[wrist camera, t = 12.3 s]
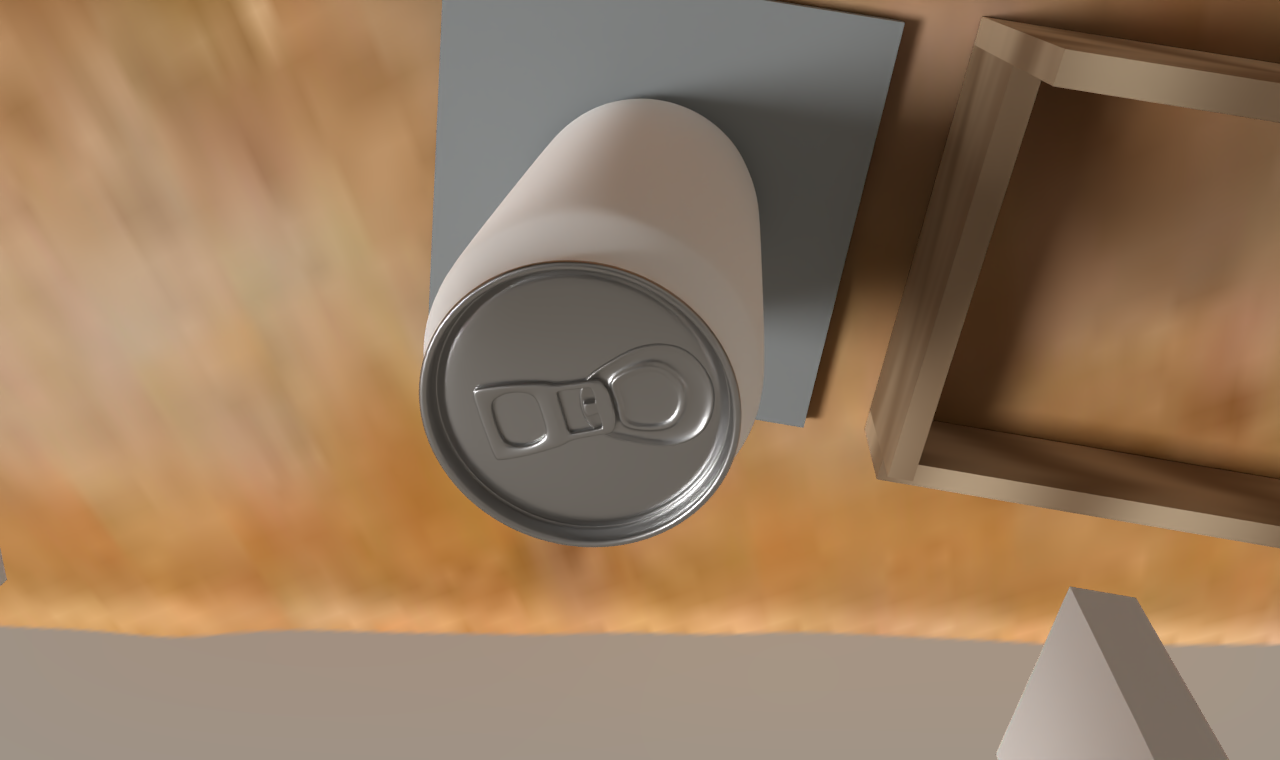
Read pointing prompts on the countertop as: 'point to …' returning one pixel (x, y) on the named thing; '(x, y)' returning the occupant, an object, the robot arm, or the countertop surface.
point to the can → (603, 332)
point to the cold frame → (951, 267)
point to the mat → (701, 81)
